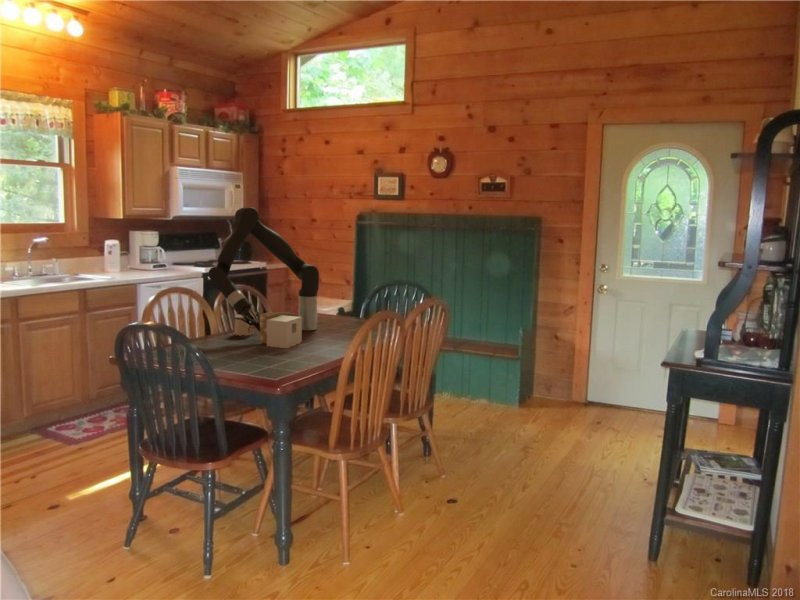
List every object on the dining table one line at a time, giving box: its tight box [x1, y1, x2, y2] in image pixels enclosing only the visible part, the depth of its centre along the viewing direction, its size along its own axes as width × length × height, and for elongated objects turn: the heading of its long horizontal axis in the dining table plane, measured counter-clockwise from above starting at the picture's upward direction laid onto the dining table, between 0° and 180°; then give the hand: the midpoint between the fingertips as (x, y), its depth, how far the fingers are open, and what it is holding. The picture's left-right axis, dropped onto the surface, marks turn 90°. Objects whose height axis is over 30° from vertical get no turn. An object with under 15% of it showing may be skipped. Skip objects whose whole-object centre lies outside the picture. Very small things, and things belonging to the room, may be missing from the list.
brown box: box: [259, 311, 296, 345], centre depth 298 cm, size 15×8×13 cm, turn 70°
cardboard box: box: [266, 315, 303, 349], centre depth 297 cm, size 10×14×12 cm
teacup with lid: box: [233, 313, 254, 336], centre depth 319 cm, size 12×9×12 cm
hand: (262, 330), depth 301 cm, fingers closed
